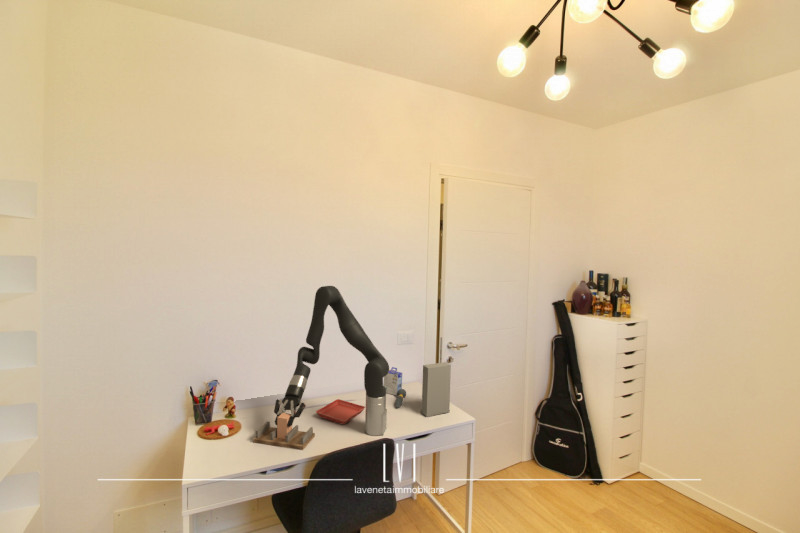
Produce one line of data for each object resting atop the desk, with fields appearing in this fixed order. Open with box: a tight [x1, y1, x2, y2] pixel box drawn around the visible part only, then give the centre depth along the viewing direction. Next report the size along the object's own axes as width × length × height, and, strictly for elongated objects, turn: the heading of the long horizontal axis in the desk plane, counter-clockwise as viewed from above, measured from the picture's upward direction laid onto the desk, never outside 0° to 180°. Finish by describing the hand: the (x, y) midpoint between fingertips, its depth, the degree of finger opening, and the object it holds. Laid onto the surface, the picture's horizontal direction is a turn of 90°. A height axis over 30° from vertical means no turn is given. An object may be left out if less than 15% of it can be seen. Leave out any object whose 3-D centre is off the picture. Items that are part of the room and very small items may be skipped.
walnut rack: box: [252, 421, 316, 451], centre depth 152 cm, size 23×11×4 cm, turn 78°
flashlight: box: [395, 388, 407, 409], centre depth 194 cm, size 20×5×5 cm, turn 175°
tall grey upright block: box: [420, 361, 452, 418], centre depth 182 cm, size 14×6×25 cm, turn 115°
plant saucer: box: [315, 398, 366, 425], centre depth 177 cm, size 18×18×3 cm
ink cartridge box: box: [383, 366, 403, 397], centre depth 206 cm, size 10×6×14 cm, turn 59°
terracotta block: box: [276, 412, 293, 439], centre depth 152 cm, size 4×4×9 cm
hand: (282, 425), depth 150 cm, fingers open, 5 cm apart
